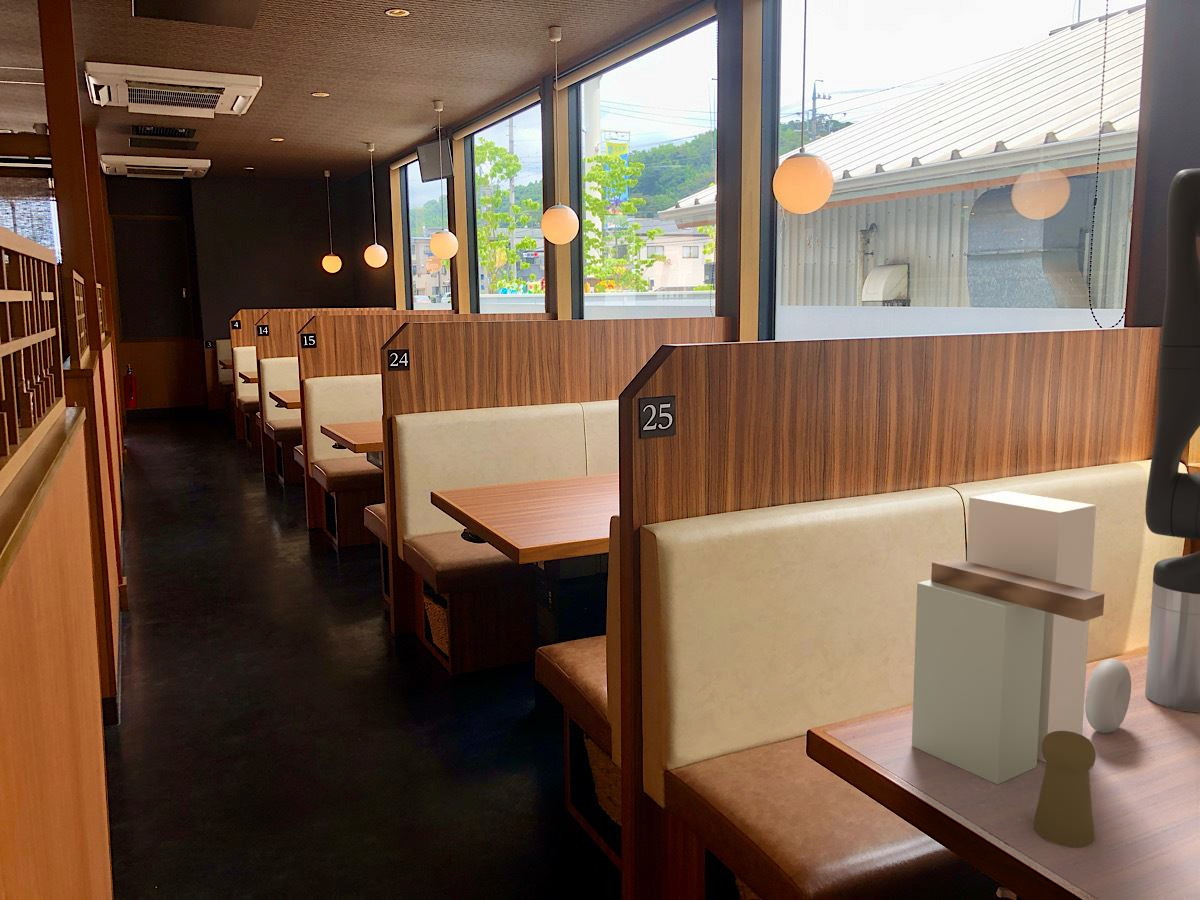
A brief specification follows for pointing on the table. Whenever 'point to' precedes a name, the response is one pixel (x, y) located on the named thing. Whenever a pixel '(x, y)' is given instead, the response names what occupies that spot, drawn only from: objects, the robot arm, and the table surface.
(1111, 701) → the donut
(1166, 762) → the table surface
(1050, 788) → the cork
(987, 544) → the stand
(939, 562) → the slat
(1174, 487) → the robot arm
